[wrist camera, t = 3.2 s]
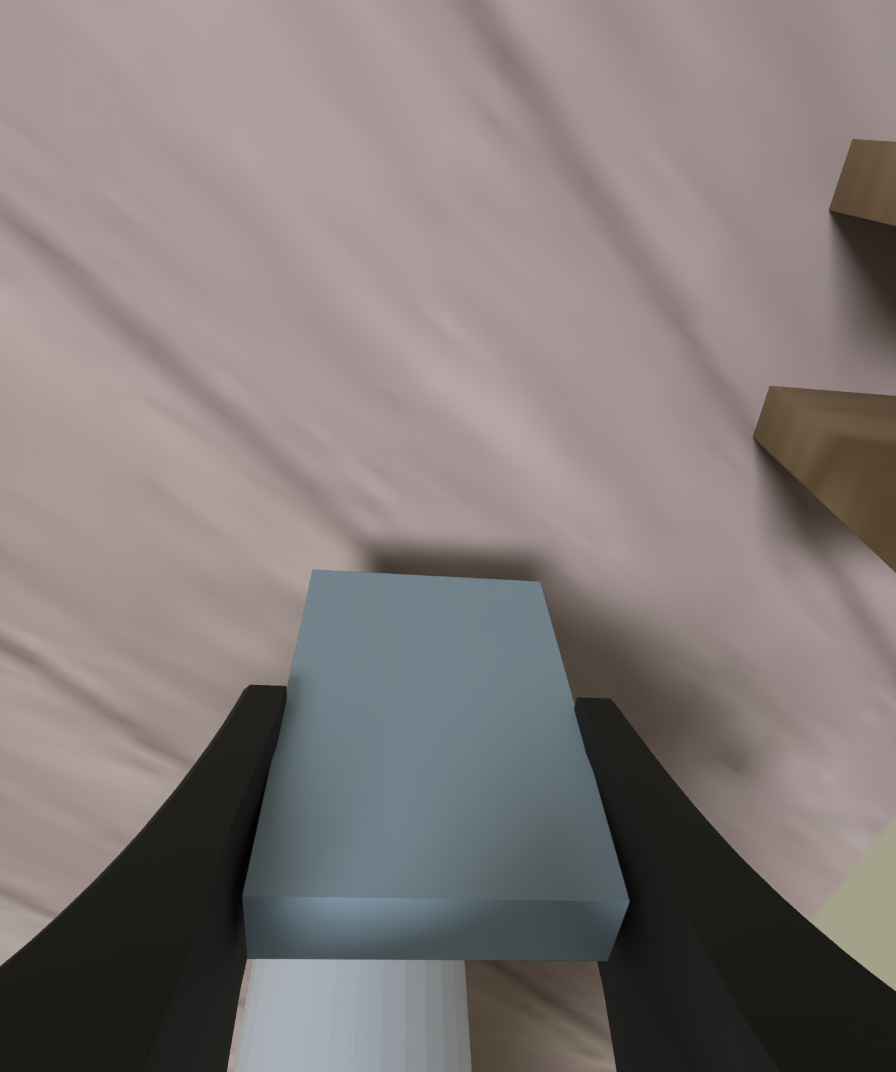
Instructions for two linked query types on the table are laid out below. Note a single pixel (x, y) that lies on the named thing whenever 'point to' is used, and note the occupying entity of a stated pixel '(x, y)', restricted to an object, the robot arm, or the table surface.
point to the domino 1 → (430, 784)
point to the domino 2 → (839, 455)
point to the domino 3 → (868, 182)
